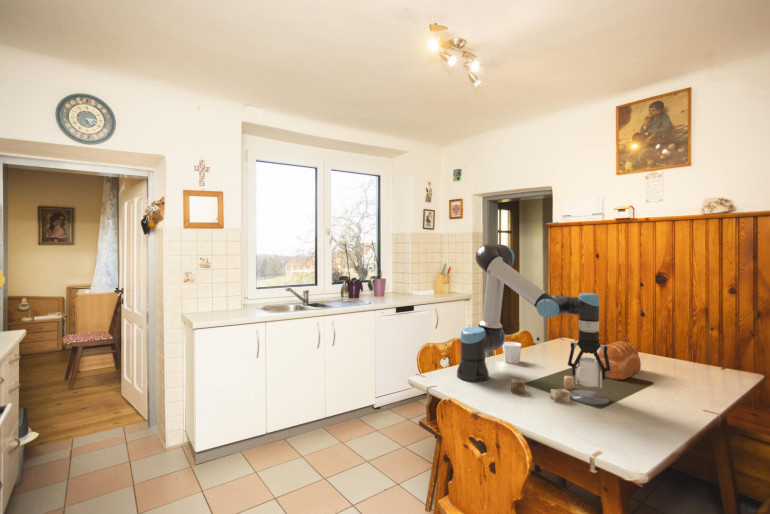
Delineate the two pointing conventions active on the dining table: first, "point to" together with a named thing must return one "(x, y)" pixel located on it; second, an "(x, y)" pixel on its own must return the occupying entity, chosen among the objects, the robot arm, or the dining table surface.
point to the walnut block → (517, 386)
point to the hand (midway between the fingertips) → (588, 384)
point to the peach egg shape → (569, 382)
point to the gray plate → (589, 397)
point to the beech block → (560, 395)
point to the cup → (511, 352)
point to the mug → (588, 372)
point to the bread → (621, 360)
